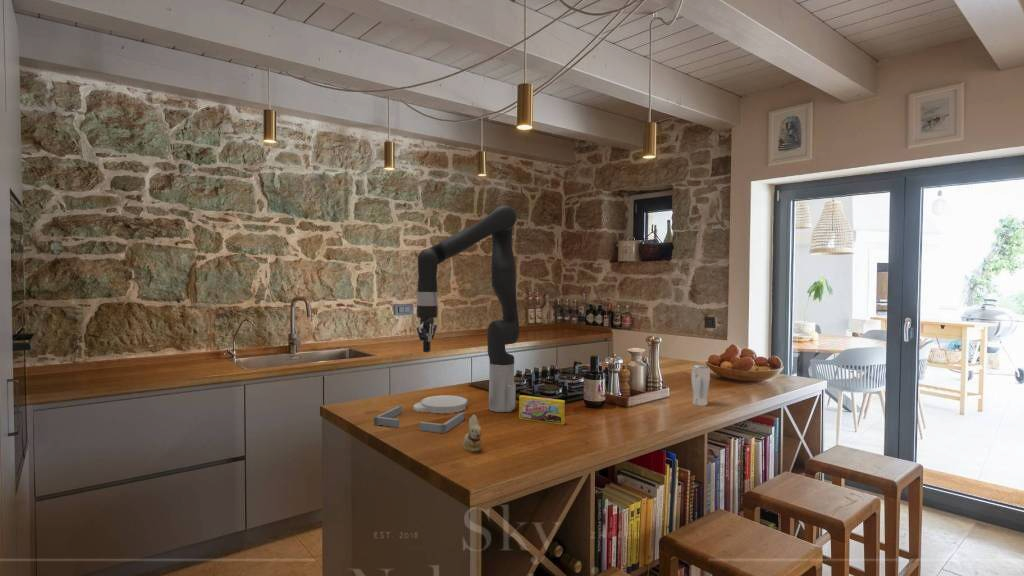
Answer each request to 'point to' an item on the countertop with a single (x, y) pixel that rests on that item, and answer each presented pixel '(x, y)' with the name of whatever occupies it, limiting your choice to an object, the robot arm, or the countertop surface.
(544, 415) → the candy box
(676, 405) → the countertop surface
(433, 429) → the lid holder
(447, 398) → the lid
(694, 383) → the beer glass
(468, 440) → the chocolate bunny
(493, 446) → the countertop surface
